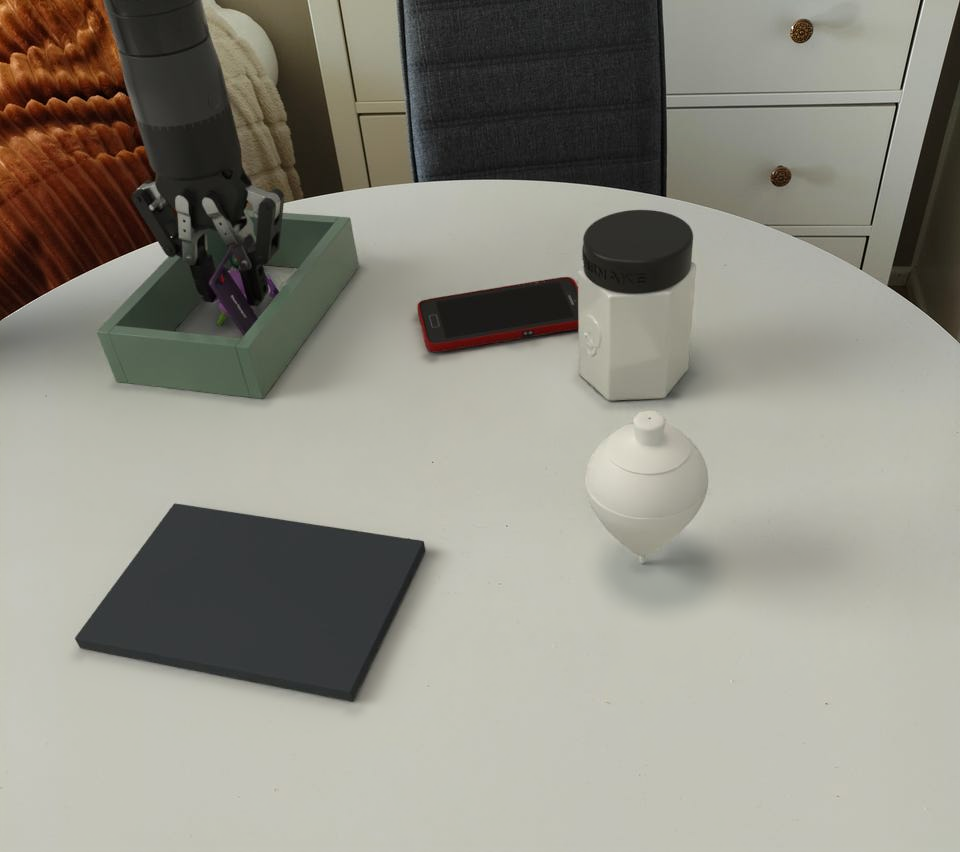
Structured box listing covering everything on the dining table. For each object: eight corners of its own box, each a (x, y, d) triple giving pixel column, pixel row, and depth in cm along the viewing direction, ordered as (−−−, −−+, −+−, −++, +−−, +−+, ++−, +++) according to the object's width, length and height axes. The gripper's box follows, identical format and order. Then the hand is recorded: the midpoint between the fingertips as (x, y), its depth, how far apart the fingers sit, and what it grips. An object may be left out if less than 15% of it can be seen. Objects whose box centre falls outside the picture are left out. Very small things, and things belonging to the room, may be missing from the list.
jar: (562, 363, 87) (559, 227, 78) (643, 333, 89) (649, 196, 80) (620, 416, 81) (624, 276, 72) (705, 382, 83) (719, 242, 74)
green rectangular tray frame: (116, 381, 91) (95, 331, 87) (228, 256, 104) (215, 207, 101) (262, 399, 87) (248, 347, 83) (359, 266, 101) (350, 217, 97)
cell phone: (416, 310, 94) (415, 300, 93) (573, 284, 95) (573, 274, 94) (427, 355, 89) (426, 345, 88) (593, 328, 90) (593, 318, 89)
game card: (218, 279, 88) (248, 228, 94) (170, 298, 90) (202, 247, 96) (261, 344, 92) (287, 291, 98) (214, 361, 94) (242, 308, 100)
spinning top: (722, 559, 70) (741, 413, 61) (649, 621, 67) (658, 476, 58) (634, 510, 74) (641, 366, 65) (562, 566, 71) (558, 423, 62)
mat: (79, 648, 69) (73, 638, 68) (178, 512, 78) (174, 502, 77) (353, 702, 64) (350, 692, 63) (426, 550, 73) (424, 540, 72)
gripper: (281, 87, 82) (322, 285, 95) (127, 81, 85) (186, 272, 98) (240, 126, 77) (289, 329, 90) (78, 118, 81) (147, 314, 94)
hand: (235, 299), depth 94 cm, fingers closed on game card, 4 cm apart
